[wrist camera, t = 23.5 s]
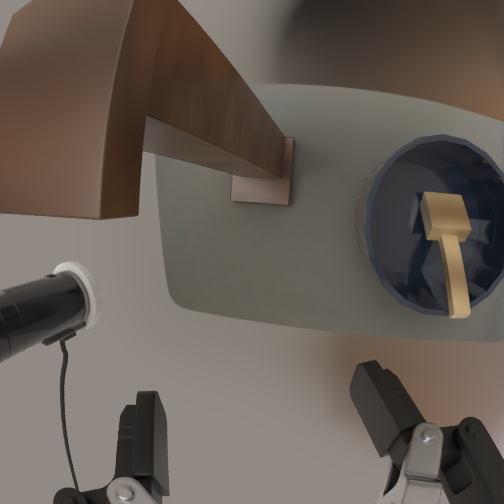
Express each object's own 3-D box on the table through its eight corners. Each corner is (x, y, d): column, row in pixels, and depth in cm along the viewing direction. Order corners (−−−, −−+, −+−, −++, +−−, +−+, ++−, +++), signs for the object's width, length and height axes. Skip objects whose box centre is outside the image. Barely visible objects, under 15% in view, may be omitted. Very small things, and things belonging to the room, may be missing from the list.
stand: (290, 205, 37) (99, 220, 6) (233, 201, 38) (-27, 212, 7) (294, 139, 35) (157, -63, 4) (238, 138, 37) (12, 14, 6)
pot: (469, 296, 32) (500, 319, 24) (347, 283, 36) (353, 307, 28) (484, 163, 29) (520, 155, 21) (360, 141, 33) (370, 121, 25)
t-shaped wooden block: (419, 205, 32) (423, 191, 30) (455, 208, 31) (461, 194, 29) (436, 318, 25) (445, 308, 23) (478, 318, 24) (488, 308, 22)
